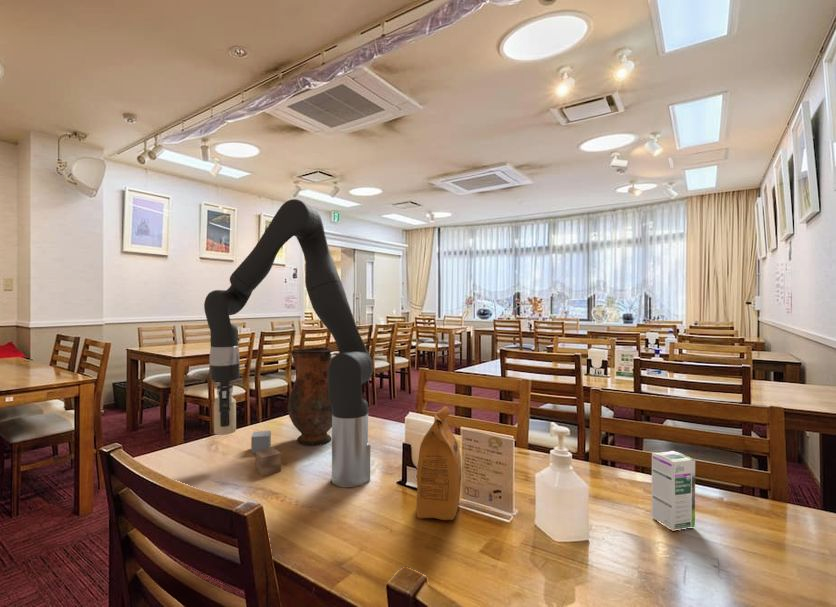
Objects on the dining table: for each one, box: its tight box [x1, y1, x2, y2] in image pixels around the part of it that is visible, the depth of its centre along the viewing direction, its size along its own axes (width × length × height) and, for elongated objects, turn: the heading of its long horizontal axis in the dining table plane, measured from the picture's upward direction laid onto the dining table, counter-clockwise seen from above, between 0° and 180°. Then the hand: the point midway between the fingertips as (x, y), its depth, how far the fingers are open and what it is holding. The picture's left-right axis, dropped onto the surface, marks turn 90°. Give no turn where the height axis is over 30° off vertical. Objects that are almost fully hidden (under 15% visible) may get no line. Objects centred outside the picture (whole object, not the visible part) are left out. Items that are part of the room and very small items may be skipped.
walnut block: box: [255, 447, 282, 477], centre depth 114 cm, size 5×5×5 cm
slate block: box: [250, 430, 272, 454], centre depth 129 cm, size 5×5×5 cm
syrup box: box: [651, 450, 696, 530], centre depth 89 cm, size 6×6×14 cm
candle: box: [213, 396, 237, 436], centre depth 117 cm, size 6×6×10 cm
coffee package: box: [415, 406, 462, 521], centre depth 94 cm, size 10×12×22 cm
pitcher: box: [287, 347, 339, 446], centre depth 137 cm, size 17×21×30 cm
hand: (225, 422), depth 117 cm, fingers closed on candle, 5 cm apart
